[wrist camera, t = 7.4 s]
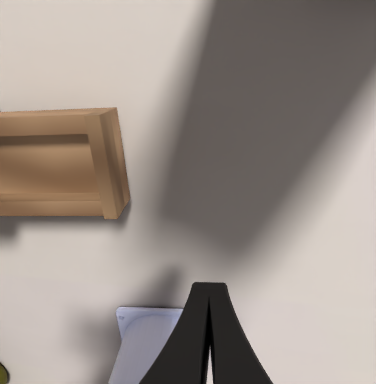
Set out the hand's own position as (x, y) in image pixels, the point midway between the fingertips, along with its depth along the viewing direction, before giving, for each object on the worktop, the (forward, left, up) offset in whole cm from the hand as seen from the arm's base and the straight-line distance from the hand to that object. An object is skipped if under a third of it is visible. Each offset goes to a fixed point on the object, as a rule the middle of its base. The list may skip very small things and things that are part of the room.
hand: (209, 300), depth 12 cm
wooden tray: (+4, +16, -10) cm, 19 cm away
